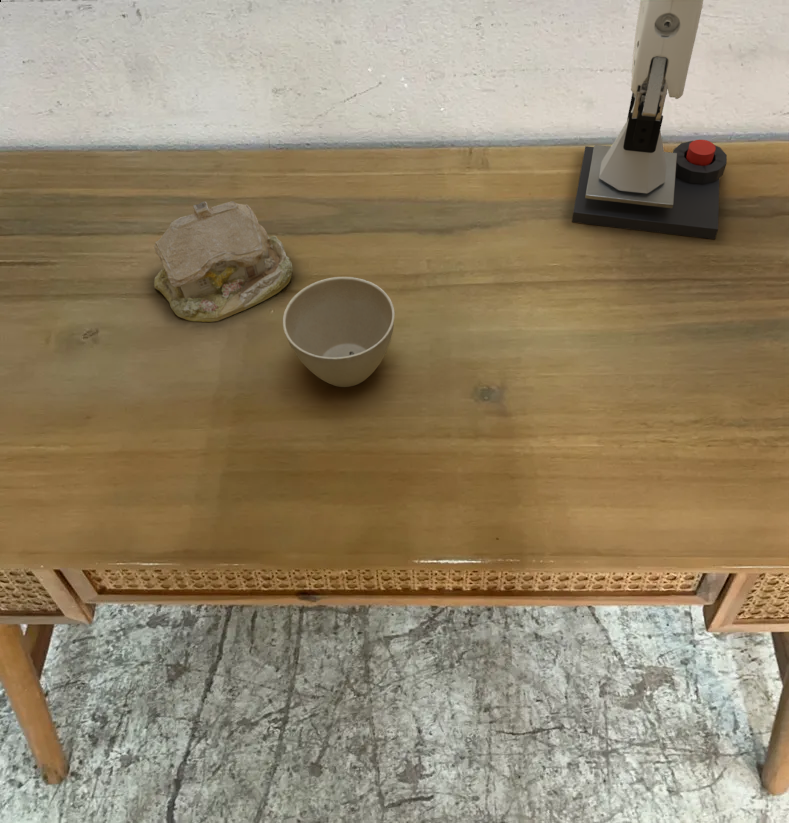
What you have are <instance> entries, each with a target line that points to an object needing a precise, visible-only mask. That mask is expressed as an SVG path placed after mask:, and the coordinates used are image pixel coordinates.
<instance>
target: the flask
mask: <svg viewBox="0 0 789 823" xmlns="http://www.w3.org/2000/svg"><path fill="white" fill-rule="evenodd" d="M643 84H644V85H648V83H643ZM662 86H664V85H662ZM645 97H646V96H644V95H642V97H641V102H642V101H645ZM634 98H636V95H635V94H634ZM641 102H640V103H641ZM634 103H635V102H634ZM633 108H634V106H633ZM633 108H632V111H631V113H633ZM627 118H628V117H627ZM628 120H629V118H628ZM628 120H627V119H626V121H625V123H624V125H623V127H622V129H621V130H620V131H619V134H618V135H617V137H616V139H615V140H614V142H613V143H612V144H611V145H610V146H611V148H610V149H609V151H608V152H607V154H606V155H605V157H604V159H603V160H602V162H601V168H600V174H599V178H600V179H601V180H603V181H605V182H606V183H608V184H610V185H611V186H613V187H615V188H616V189H618V190H620V191H629V192H638V193H649V192H650V191H652V190H653V189H655V188H656V187H658V186H659V185H661V184H663V183H664V182H665V177H666V160H665V154H664V152H665V149H664V145H663V139H662V133H661V130H660V133H659V137H658V142H657V146H656V150H655V152H653V153H647V152H637V151H627V150H624V148H623V146H624V140H625V135H626V130H627V125H628Z"/></svg>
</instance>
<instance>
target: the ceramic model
mask: <svg viewBox="0 0 789 823" xmlns="http://www.w3.org/2000/svg"><path fill="white" fill-rule="evenodd" d="M192 208H193V211H194V212H193V213H192V214H188V215H184V216H181V217H178V218H176V219H174V220H173V221H171V222H170V224H169V227H168V228H167V229H166V230H165V231H164V233H163V234H162V235H161V237H160V238H159V239H158V240H155V241H154V242H155V243H154V244H153V248H154V251H155V254H156V256H157V257H158V258H159V260H160V262H161V265H162V266H163V268H162V269H160V271H159V272H157V274H156V276H155V277H154V283H153V287H154V289H155V290H157V291H159V292H160V293H161V294H162V295H163V297H164V298H165V299H166V300H167V302H168V303H169V306H170V309H171V310H172V312H173V313H174V314H175V315H176V316H177V317H178V318H181V319H182V320H186V321H189V322H198V323H200V322H202V323H212V322H219V321H222V320H224V319H227V318H229V317H231V316H233V315H236V314H238V313H241V312H244V311H245V310H248V309H250V308H252V307H254V306H256V305H258V304H260V303H262V302H265V301H266V300H268V299H270V298H272V297H274V296H275V295H277V294H278V293H281V291H282V290H283V289H285V288H286V287H287V285H289V283H290V281H291V279H292V274H293V273H292V272H293V263H292V261H291V260H290V259H291V257H289V256H288V255H287V253H286V250H285V246H284V244H283V242H282V241H281V240H280V239H279V238H278V237H277V235H275V234H274V235H270V236H269V235H268V232H267V231H266V229H265V227H264V226H262V225H261V224H260V222H259V220H258V217H257V215H256V213H255V212H254V210H253V209H252V207H251V206H249V204H246V203H245V204H242V203H238V202H235V201H233V200H232V201H227V202H223V203H221V204H218V205H214V206H212V207H209V205H208V202H207V201H201V202H200V203H198V204H193V205H192Z"/></svg>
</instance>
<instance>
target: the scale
mask: <svg viewBox="0 0 789 823" xmlns="http://www.w3.org/2000/svg"><path fill="white" fill-rule="evenodd" d="M692 141H693V140H690V141H689V140H688V141H685V142H680V143H679V145H677V146H675V147H674V149H673V150H672V153H677V161H676V175H675V188H674V202H673V208H665V207H656V206H647V205H638V204H630V203H621V202H612V201H604V200H595V199H586V198H585V196H586V190H587V185H588V179H589V173H590V167H591V161H592V156H593V150H594V146H589V145H588V146H587V145H585V146H584V152H583V155H582V156H583V157H582V163H581V168H580V172H579V173H580V174H579V179H578V184H577V188H576V195H575V201H574V206H573V212H572V217H571V223H574V224H575V223H576V224H584V225H593V226H601V227H610V228H616V229H625V230H633V231H642V232H650V233H658V234H659V233H660V234H667V235H675V236H683V237H691V238H701V239H707V240H715V239H716V237H717V234H718V230H719V208H720V203H719V202H720V178H721V177H722V176H724V173H725V169H726V167H727V160H728V159H727V158H728V155H727V154H726V152H725V151H724V150H723V149H722V148H721V147H720V146H718V145H716V144H714V145H715V147H716V150H715V153H714V157H713V160H712V162H711V163H710V164H709V165H706V166H700V165H694V164H692V163H690V162H688V161H687V160H686V155H687V152H688V148H689V145H690V143H691V142H692Z"/></svg>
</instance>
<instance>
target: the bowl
mask: <svg viewBox="0 0 789 823" xmlns="http://www.w3.org/2000/svg"><path fill="white" fill-rule="evenodd" d="M289 300H290V301H289V302H288V303H287V305H286V306H285V309H284V312H283V316H282V329H283V332H284V335H285V338H286V339H287V342H288V344H289V346H290V347H291V349H292V351H293V352H294V353H295V355H296V357H297V358H298V359H299V361H300V362H301V364H303V366H305V368H307V369H308V371H310V372H311V373H312V374H313V375H314V376H316V377H317V378H318V379H319V380H321V381H323V382H325V383H328V384H330V385H332V386H333V387H339V388H351V387H354V386H357V385H360V384H362V383H363V382H364V381H366V380H368V378H369V377H370V376H372V375H373V373H374V372H375V371H376V369H377V368H378V367H379V366H380V364H381V362H382V361H383V359H384V357H385V355H386V354H387V350H388V348H389V346H390V343H391V340H392V336H393V332H394V326H395V315H396V314H395V313H396V312H395V306H394V303H393V301H392V298H391V297H390V295H389V294H388V293H387V292H386V291H385V290H384V289H383V288H381V287H380V286H379V285H377V284H376V283H374V282H372V281H369V280H367V279H364V278H360V277H355V276H333V277H328V278H324V279H321V280H317V281H314V282H313V283H311V284H308V285H307V286H305V287H304V288H302V289H301V290H299V291H298V292H297V293H295V294H294V296H293V297H292V298H291V299H289Z"/></svg>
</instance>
